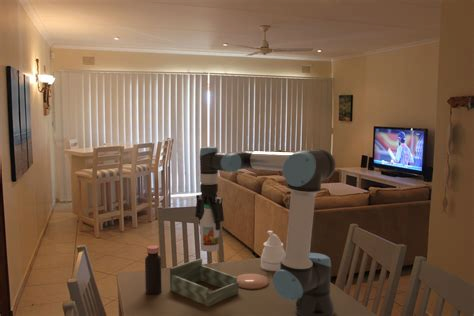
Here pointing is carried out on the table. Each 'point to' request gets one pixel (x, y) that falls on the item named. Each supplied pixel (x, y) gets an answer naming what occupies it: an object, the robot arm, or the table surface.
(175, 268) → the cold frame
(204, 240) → the milk bottle
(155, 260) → the vinegar
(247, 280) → the pink round disc
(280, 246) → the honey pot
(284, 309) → the table surface
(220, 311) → the table surface
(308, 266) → the robot arm
